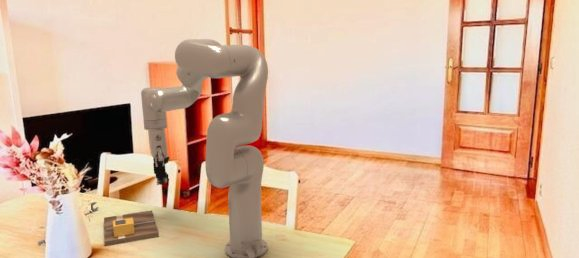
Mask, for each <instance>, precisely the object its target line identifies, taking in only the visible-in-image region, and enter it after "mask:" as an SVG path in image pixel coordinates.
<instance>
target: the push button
mask: <svg viewBox="0 0 579 258" xmlns="http://www.w3.org/2000/svg"><path fill="white" fill-rule="evenodd" d="M163 157H164V166H165V167H166V164H168V163H169V162H170V161H169V160H170V156H168V157H165V156H164V155H163ZM156 158H158V156H156ZM152 159H153V160H152V161H153V163H155V159H154V158H153V157H152ZM157 160H158V159H157ZM165 174H166V177H163V178H156V186H159V185H164V184H166V183H168V182H169V173H167V171H166V170H165Z"/></svg>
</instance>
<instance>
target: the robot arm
mask: <svg viewBox="0 0 579 258" xmlns="http://www.w3.org/2000/svg"><path fill="white" fill-rule="evenodd" d="M174 60H175V63H176V65H177V68H176V72H175V73H176V76H177V79H178V81H179V82H180V83H181V86H171V87H170V86H169V87H165V88H164V87H163V88H162V87H158V86H157V87H156V86H155V87H154V86H152V87H145V88H142V90H141V93H140V95H141V107H142V108H141V109H142V116H143V129H144V130H145V131H148V142H149V143H148V144H149V149H150V154H151V156H152V159H153V158H154V159H155V163H154V162H153V163H152V164H153V165H152V166H153V173H154V175H155V178H156V179H157V178H163V177H166V174H165V171H166V165H165V166H164V157H163V155H164V156H165V157H169V155H168V154H169V153H168V146H167V144H168V143H167V138H166V130H165V129H168V121H167V120H168V119H167V112H171V111H176V110H183V109H187V108H189V107H190V106H192V105H193V104H194V103H195V102H196V101H197V100H198V99H199V98H200V96H201V95H202V92H203V82H205V80H206V79H207V78H211V79H225V78H231V77H232V78H234V77H240V79H239V81H238V83H237V85H236V86H235V87H234V88H235V89H234V91H233V96H232V107H231V110H230V111H229V112H227V113H222V114H218V115H216V116H215V117H214V118H212V119H211V121H210V122H209V124H208V127H207V131H206V132H207V133H206V144H205V148H206V149H205V174H206V177H207V180H208V182H209V183H210V184H211V185H212V186H214V188H215V187H216V188H218V189H221V188H227V187H229V188H228V196H227V197H228V225H229V241H228V242H227V243H226V245H224V252H225V254H226V255H227V256H228V257H230V258H259V257H261V256H263V255H265V253H266V252H267V251H268V248H269V247H268V243H267V242H266V241H265V240H264V239H263V228H262V227H263V225H262V223H263V222H262V221H263V219H262V182H263V181H262V180H263V175H264V174H263V173H264V166H265V164H264V163H265V161H264V157H263V154H262V152H261V151H260V150H259V148H257V147H255V146H253V145H248V144H252V143H254V142H256V141H258V140H259V138H260V137H261V134H262V128H263V117H264V107H265V105H264V104H265V103H264V102H265V93H266V89H267V83H268V78H269V67H268V62H267V60H266V57H265V56H264V54H263V53H262V52H261V50H259V49H258V48H256V47H255V46H252V45H248V44H229V45H228V44H227V45H225V44H224V45H223V44H221V43H220V42H219V41H216V40H213V39H211V38H209V39H208V38H200V39H198V38H195V39H193V38H191V39H184V40H182V41H181V42H180V43H179V44H178V45H177V46H176V48H175V52H174ZM156 156H158V158H156ZM157 159H158V160H157Z"/></svg>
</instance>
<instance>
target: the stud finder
mask: <svg viewBox="0 0 579 258" xmlns="http://www.w3.org/2000/svg"><path fill="white" fill-rule="evenodd" d="M113 230H114V237H119V236H125V235H130V234H135V232H134V222H133V218H127V219H121V220H114V221H113Z"/></svg>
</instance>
